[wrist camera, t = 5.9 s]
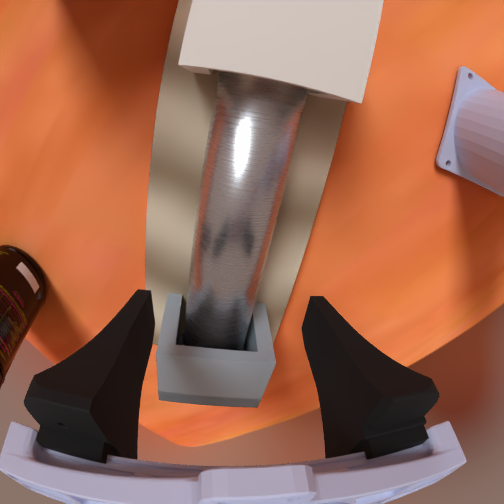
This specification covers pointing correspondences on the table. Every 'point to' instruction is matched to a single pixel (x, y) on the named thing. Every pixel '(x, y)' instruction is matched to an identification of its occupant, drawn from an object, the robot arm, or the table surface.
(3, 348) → the supplement container
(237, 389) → the socket
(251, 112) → the tube
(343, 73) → the sleeve
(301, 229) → the board
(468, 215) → the table surface
